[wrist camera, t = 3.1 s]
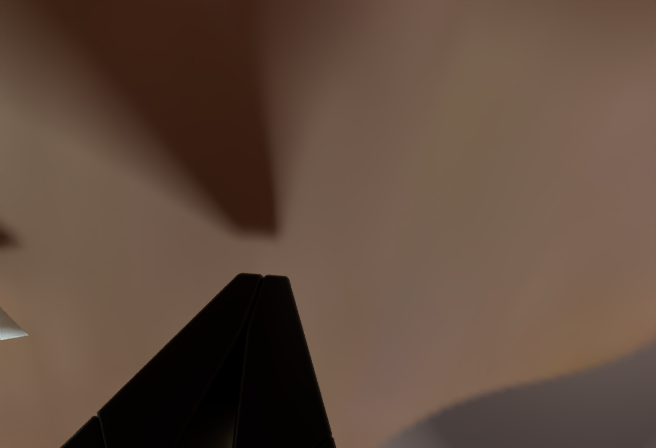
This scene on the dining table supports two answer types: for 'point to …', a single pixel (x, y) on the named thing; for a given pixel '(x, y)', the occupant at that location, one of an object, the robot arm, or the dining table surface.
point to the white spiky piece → (9, 327)
